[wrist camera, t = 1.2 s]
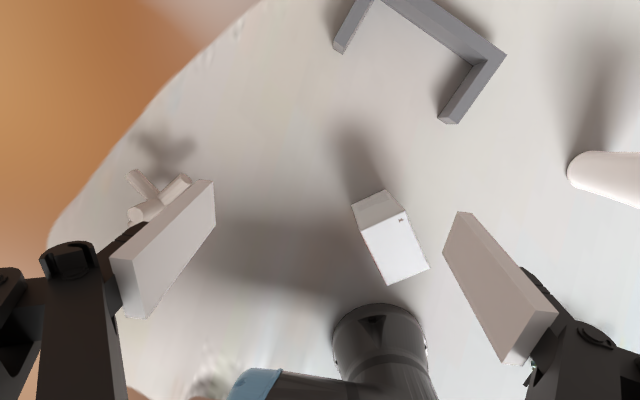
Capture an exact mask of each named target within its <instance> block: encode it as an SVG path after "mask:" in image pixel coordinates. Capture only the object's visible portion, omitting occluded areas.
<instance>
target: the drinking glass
mask: <svg viewBox="0 0 640 400" xmlns="http://www.w3.org/2000/svg"><path fill="white" fill-rule="evenodd" d="M567 178H568V180H569V182H570V183H571V184H572V185H573V186H574V187H576V188H578V189H582V190H586V191H589V192H592V193H595V194H598V195H601V196H604V197H607V198H610V199H612V200H615V201H618V202H621V203H624V204H626V205H629V206H632V207H635V208H638V209H640V152H605V151H587V152H584V153H581V154H579V155H578V156H576V157H575V158H574V159H573V160H572V161H571V163H570V164H569V166H568V169H567Z"/></svg>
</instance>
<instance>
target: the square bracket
mask: <svg viewBox="0 0 640 400" xmlns="http://www.w3.org/2000/svg"><path fill="white" fill-rule="evenodd" d="M373 1H374V0H356V1H355V2H354V4H353V6H352V8H351V10H350V11H349V13H348V15H347V17H346V19H345V20H344V22H343V24H342V26H341V28H340V29H339V31H338V33H337V35H336V37H335V38H334V40H333V49H335V50H336V51H338V52H339V53H341V54H342V55H343V54H344V52H345V50H346V48H347V47H348V45H349V43H350V41H351V40H352V38H353V36H354V34H355V33H356V31H357V29H358V27H359V26H360V24H361V22H362V20H363V19H364V17H365V15H366V13H367V12H368V10H369V8H370V6H371V5H372V3H373ZM381 1H382V2H384V3H385V4H387V5H388V6H390V7H391V8H392V9H394V10H395V11H397V12H398V13H399V14H401V15H402V16H404V17H405V18H406V19H408V20H409V21H411V22H412V23H414V24H415V25H416V26H418V27H419V28H421V29H422V30H423V31H425V32H426V33H428V34H429V35H430V36H432V37H433V38H435V39H436V40H437V41H439V42H440V43H442V44H443V45H445V46H446V47H447V48H449V49H450V50H452V51H453V52H454V53H456V54H457V55H459V56H460V57H461V58H463V59H464V60H466V61H467V62H469V63H470V64H471V65H473V67H472V69H471V70H470V71H469V73H468V74H467V76H466V77H465V79H464V80H463V82H462V83H461V84H460V86H459V87H458V89H457V90H456V92H455V93H454V95H453V96H452V97H451V99H450V100H449V102H448V103H447V105H446V106H445V108H444V109H443V110H442V112H441V113H440V115H439V116H438V119H439V120H441V121H442V122H444V123H445V124H458V123H459V122H460V120H461V119H462V118H463V116H464V115H465V113H466V112H467V111H468V109H469V108H470V106H471V105H472V104H473V102H474V101H475V99H476V98H477V97H478V95H479V94H480V92H481V91H482V90H483V88H484V87H485V85H486V84H487V83H488V81H489V80H490V78H491V77H492V76H493V74H494V73H495V71H496V70H497V69H498V67H499V66H500V64H501V63H502V62H503V60H504V59H505V57H506V56H507V54H505V53H504V52H502V51H501V50H500V49H498V48H497V47H496V46H494V45H493V44H491V43H490V42H489V41H487V40H486V39H485V38H483V37H482V36H480V35H479V34H478V33H476V32H475V31H474V30H472V29H471V28H469V27H468V26H467V25H465V24H464V23H463V22H461V21H460V20H458V19H457V18H456V17H454V16H453V15H452V14H450V13H449V12H447V11H446V10H445V9H443V8H442V7H441V6H439V5H438V4H436V3H435V2H434V1H432V0H381Z"/></svg>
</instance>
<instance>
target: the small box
mask: <svg viewBox="0 0 640 400" xmlns="http://www.w3.org/2000/svg"><path fill="white" fill-rule="evenodd" d="M351 207H352V210H353V213H354V216H355V219H356V222H357V225H358V228H359V231H360V233H361V235H362V237H363V239H364V241H365V243H366V246H367V248H368V250H369V252H370V254H371V256H372V258H373V260H374V262H375V264H376V266H377V268H378V270H379V272H380V274H381V276H382V278H383V280H384V282H385V284H386V286H388V285H391V284H393V283H396V282H398V281H401V280H403V279H406V278H408V277H411V276H413V275H415V274H418V273H420V272H423V271H425V270H428V269H430V268H431V267H430V265H429V263H428V261H427V259H426V257H425V255H424V253H423V251H422V248H421V246H420V244H419V242H418V239H417V237H416V235H415V232H414V230H413V228H412V226H411V223H410V221H409V218H408V215H407V213H406V210H405V209H404V208H403V207H402V206H401V205H400V204H399V203H398V202H397V201H396V200H395V199H394V198H393V196H392V195H391V194H390V193H389V192H388V191H387V190H386V189H384V190H382V191H380V192H378V193H376V194H374V195H371V196H369V197H367V198H365V199H363V200H361V201H359V202H356V203H354V204H352V205H351Z"/></svg>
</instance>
